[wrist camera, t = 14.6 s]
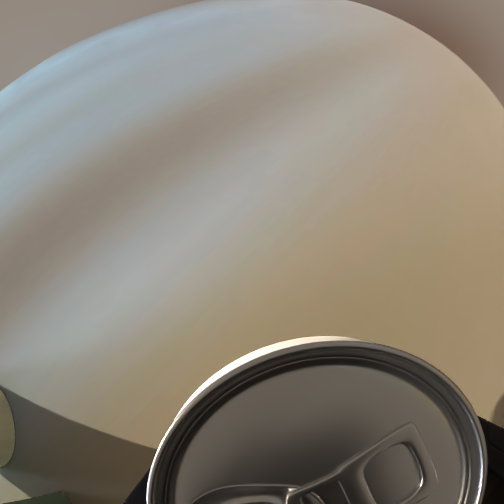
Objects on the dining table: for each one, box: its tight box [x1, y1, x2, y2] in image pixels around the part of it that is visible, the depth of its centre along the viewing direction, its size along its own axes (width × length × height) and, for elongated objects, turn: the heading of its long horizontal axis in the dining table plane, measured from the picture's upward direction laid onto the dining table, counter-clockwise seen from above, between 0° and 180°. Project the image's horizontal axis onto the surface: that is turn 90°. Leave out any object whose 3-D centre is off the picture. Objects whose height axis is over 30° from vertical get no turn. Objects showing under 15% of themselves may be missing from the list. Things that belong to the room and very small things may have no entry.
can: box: [146, 336, 488, 504], centre depth 9 cm, size 6×6×12 cm
